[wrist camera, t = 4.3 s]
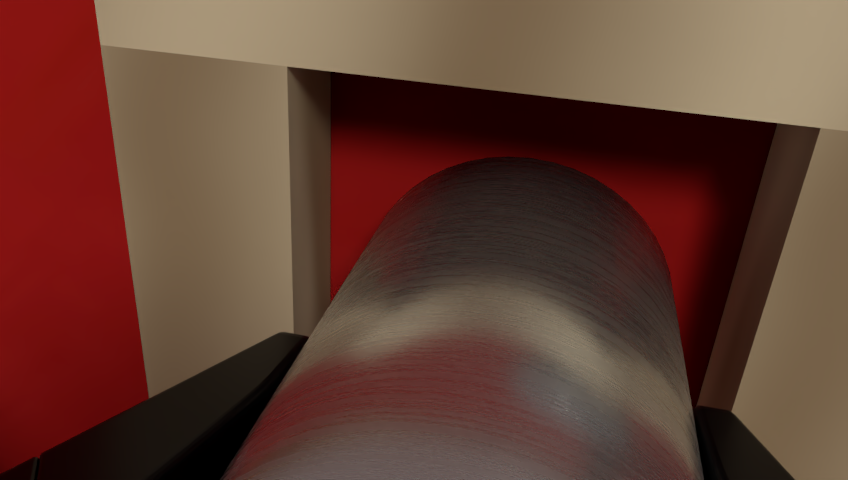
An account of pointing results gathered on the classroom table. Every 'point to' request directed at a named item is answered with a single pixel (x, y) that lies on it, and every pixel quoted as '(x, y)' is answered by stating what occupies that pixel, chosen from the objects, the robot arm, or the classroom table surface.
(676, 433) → the shiny steel cylinder
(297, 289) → the holder
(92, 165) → the classroom table surface
